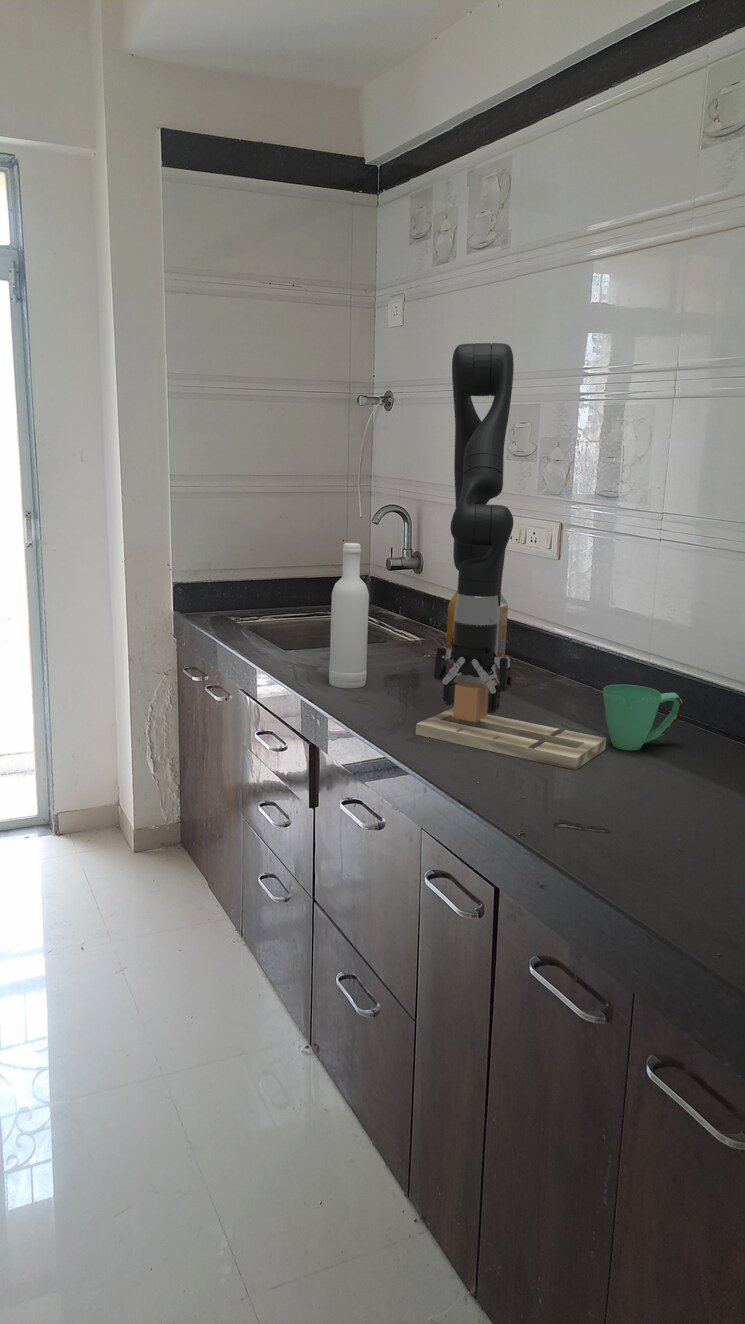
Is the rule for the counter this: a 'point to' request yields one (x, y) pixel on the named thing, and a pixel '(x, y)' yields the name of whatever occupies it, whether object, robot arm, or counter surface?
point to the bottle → (349, 624)
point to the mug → (636, 714)
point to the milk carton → (500, 634)
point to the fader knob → (470, 703)
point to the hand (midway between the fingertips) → (470, 708)
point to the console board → (516, 739)
